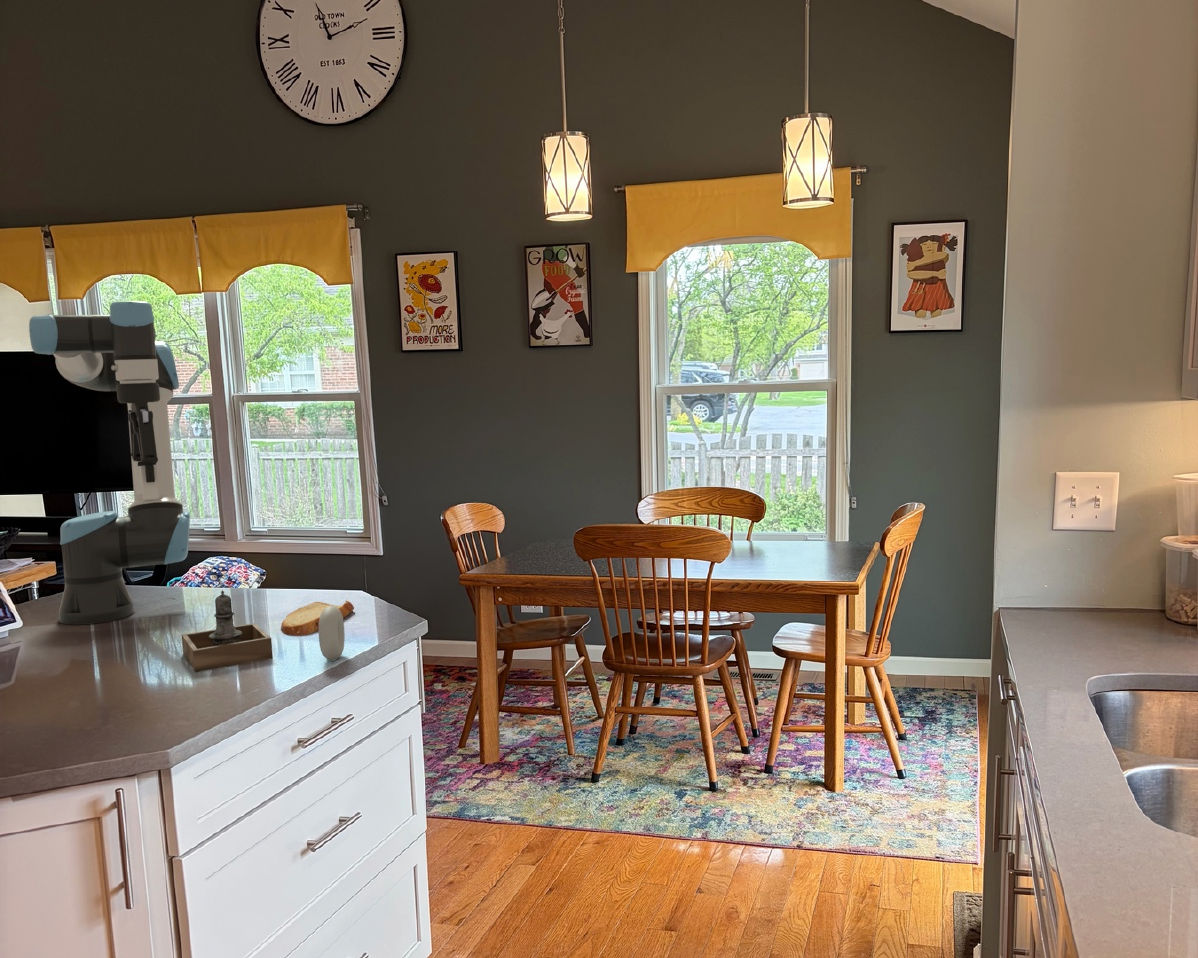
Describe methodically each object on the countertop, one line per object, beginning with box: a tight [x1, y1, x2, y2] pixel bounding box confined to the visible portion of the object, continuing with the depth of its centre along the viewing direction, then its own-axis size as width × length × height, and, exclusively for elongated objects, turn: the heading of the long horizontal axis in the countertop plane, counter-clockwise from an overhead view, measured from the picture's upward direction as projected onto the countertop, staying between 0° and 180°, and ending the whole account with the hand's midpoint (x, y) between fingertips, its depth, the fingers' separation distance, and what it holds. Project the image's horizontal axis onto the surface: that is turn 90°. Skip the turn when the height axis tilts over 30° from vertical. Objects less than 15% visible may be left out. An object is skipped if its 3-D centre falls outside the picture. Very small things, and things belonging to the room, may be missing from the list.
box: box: [181, 622, 274, 673], centre depth 183 cm, size 14×14×4 cm
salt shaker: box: [209, 589, 242, 646], centre depth 183 cm, size 6×6×12 cm
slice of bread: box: [280, 600, 355, 637], centre depth 208 cm, size 18×18×4 cm
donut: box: [318, 605, 346, 662], centre depth 179 cm, size 10×4×10 cm, turn 5°
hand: (147, 496), depth 191 cm, fingers open, 10 cm apart
